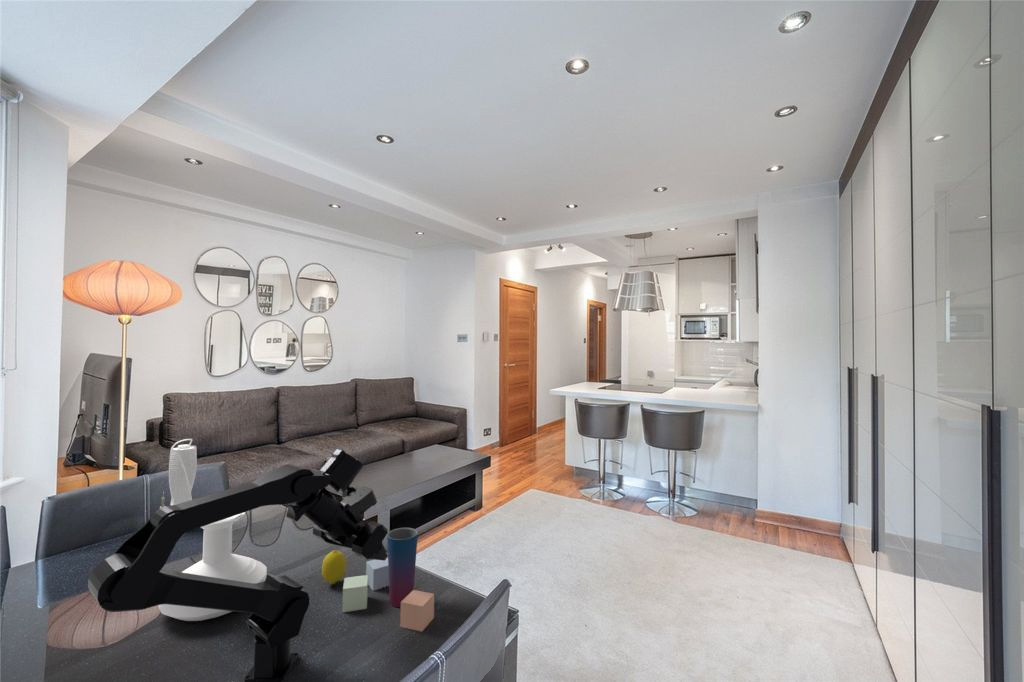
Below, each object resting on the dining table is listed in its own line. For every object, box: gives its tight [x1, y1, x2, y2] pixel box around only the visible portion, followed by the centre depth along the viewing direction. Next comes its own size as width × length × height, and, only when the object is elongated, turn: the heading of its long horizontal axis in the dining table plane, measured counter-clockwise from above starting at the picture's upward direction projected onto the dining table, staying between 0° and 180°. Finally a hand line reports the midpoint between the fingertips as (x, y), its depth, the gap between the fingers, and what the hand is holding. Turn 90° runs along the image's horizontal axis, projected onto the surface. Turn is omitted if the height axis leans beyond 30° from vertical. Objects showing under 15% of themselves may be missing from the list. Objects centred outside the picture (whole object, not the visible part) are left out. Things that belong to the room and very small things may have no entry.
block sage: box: [342, 574, 369, 613], centre depth 96 cm, size 5×5×5 cm
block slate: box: [365, 557, 389, 592], centre depth 106 cm, size 5×5×5 cm
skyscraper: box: [159, 438, 198, 509], centre depth 139 cm, size 8×8×28 cm
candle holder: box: [157, 512, 268, 622], centre depth 97 cm, size 20×20×19 cm
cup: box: [386, 527, 419, 608], centre depth 98 cm, size 7×7×15 cm
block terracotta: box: [399, 589, 435, 633], centre depth 90 cm, size 5×5×5 cm
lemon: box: [321, 549, 347, 585], centre depth 105 cm, size 6×6×8 cm
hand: (372, 552), depth 92 cm, fingers open, 9 cm apart
